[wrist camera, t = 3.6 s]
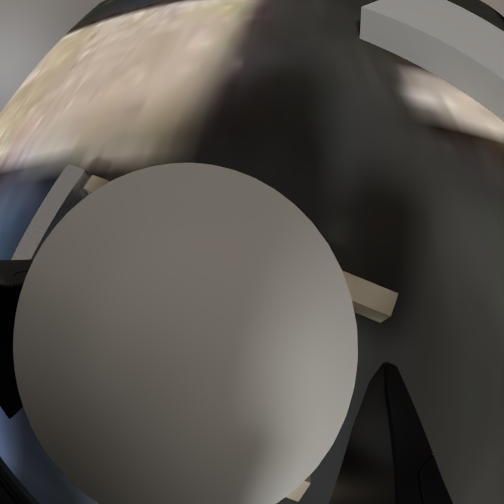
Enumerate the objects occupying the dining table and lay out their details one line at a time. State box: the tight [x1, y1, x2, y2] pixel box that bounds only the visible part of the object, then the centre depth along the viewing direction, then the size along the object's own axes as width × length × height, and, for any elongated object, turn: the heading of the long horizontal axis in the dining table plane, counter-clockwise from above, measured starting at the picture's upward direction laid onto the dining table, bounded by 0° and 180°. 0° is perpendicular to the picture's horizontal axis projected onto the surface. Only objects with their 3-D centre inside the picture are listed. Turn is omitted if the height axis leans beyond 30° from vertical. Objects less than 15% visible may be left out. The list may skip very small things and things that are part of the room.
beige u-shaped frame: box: [11, 164, 398, 501], centre depth 16 cm, size 24×11×2 cm, turn 64°
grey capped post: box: [13, 163, 358, 504], centre depth 9 cm, size 5×5×13 cm
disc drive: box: [360, 0, 504, 121], centre depth 21 cm, size 18×22×5 cm
